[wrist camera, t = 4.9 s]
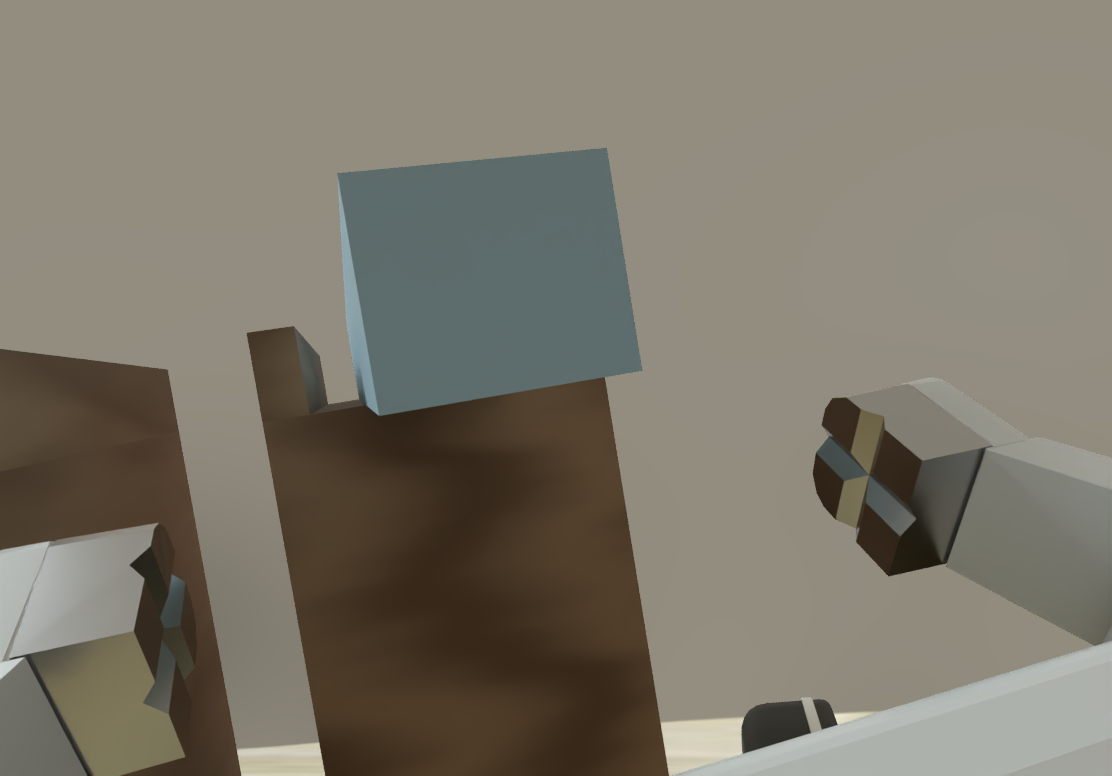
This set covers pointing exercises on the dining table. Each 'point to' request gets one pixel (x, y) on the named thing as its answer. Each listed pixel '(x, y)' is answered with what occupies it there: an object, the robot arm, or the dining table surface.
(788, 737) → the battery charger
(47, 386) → the left post
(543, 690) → the right post
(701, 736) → the dining table surface
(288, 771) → the dining table surface
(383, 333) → the batten
